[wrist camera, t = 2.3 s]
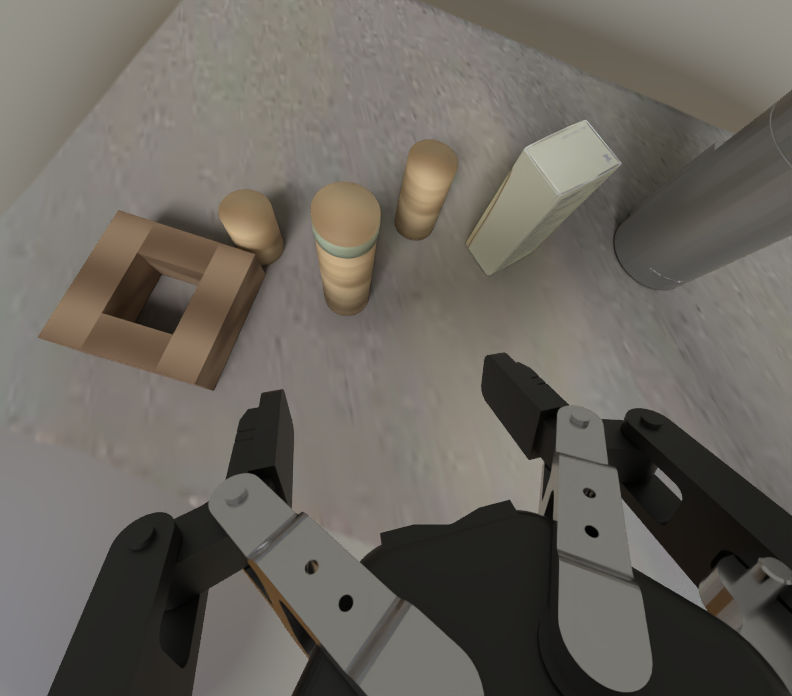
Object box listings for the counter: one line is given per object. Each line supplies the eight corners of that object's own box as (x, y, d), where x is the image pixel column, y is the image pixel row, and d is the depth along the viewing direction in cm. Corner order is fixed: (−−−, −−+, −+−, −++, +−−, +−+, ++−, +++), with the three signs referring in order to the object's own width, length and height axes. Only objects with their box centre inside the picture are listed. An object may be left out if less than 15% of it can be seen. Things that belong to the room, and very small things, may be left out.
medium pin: (400, 200, 34) (415, 132, 27) (437, 213, 34) (462, 149, 27) (389, 232, 33) (402, 171, 25) (427, 245, 33) (451, 188, 26)
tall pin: (332, 269, 31) (323, 172, 20) (374, 283, 31) (389, 194, 20) (317, 308, 30) (299, 228, 19) (361, 322, 30) (369, 251, 19)
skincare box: (508, 221, 36) (587, 115, 24) (533, 254, 35) (626, 162, 23) (462, 244, 34) (521, 144, 22) (486, 280, 33) (561, 195, 22)
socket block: (144, 235, 30) (118, 210, 26) (265, 274, 30) (255, 254, 27) (76, 350, 26) (37, 337, 23) (213, 390, 27) (194, 384, 24)
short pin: (249, 221, 31) (231, 182, 27) (290, 235, 32) (280, 199, 27) (231, 257, 30) (209, 223, 25) (274, 271, 30) (260, 240, 26)
